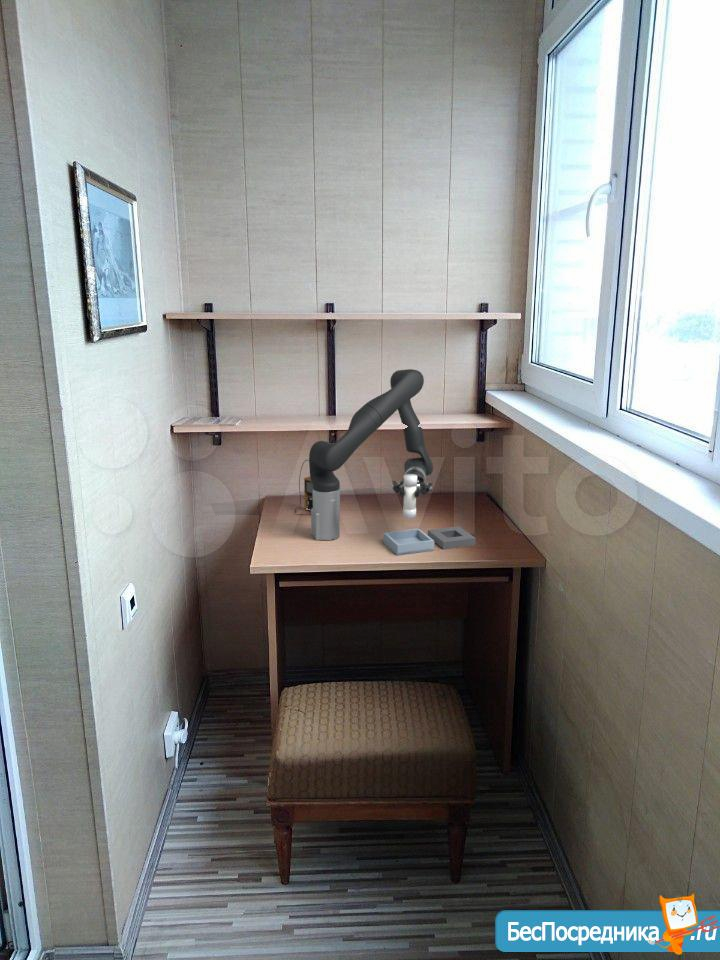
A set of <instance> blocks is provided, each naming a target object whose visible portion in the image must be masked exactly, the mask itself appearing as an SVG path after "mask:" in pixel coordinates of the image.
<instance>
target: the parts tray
mask: <svg viewBox="0 0 720 960" xmlns="http://www.w3.org/2000/svg"><path fill="white" fill-rule="evenodd" d="M383 544H384V545H386V546H387V547H388V548H389V549H390V550H391V551H392V552H393V553H394V554H395V555H396V556H404V555H411V554H419V553H425V552H432V551H434V550H435V542H434V540H433V539H431V538H430V537H429V536H428V534H426V533H425V532H424V531H423V530H421V529H420V528H411V529H405V530H403V529H402V530H396V531H388V532H383Z"/></svg>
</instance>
